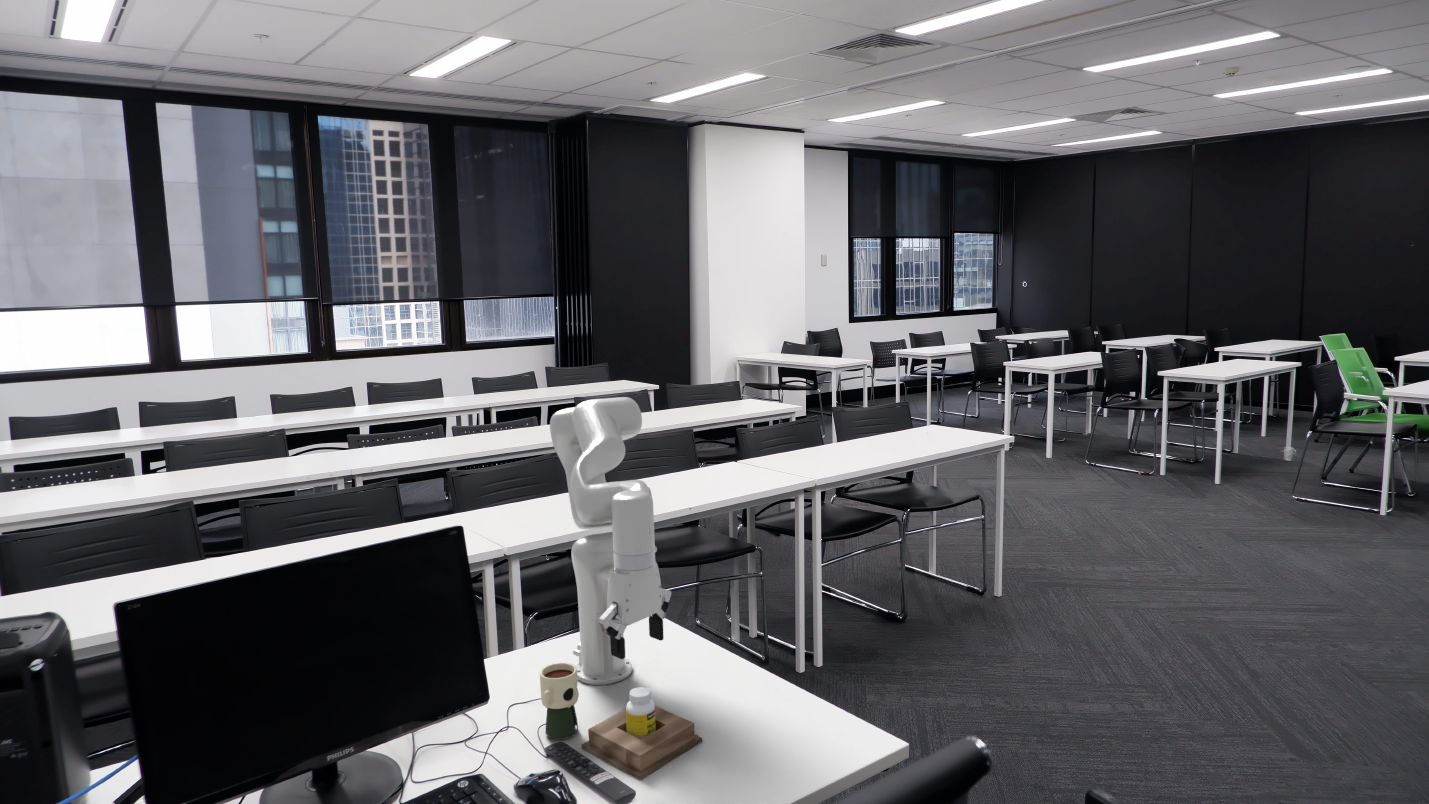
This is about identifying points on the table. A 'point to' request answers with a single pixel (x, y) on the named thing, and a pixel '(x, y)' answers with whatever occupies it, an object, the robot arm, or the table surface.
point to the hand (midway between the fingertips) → (637, 647)
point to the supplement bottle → (640, 713)
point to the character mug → (560, 699)
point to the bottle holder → (641, 743)
